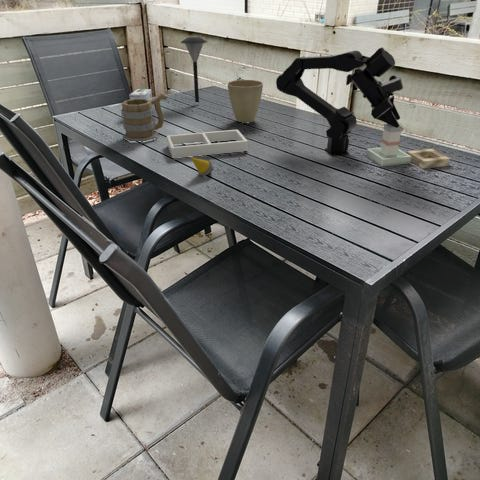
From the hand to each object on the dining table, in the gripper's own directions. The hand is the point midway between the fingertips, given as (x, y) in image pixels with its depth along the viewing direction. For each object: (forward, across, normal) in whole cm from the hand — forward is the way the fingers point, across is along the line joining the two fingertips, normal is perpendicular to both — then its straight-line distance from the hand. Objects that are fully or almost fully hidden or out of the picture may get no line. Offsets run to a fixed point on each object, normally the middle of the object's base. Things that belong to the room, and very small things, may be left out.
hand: (398, 122), depth 143 cm
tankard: (-56, -3, +74) cm, 93 cm away
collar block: (+17, +2, +1) cm, 17 cm away
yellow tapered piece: (-31, -33, +49) cm, 66 cm away
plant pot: (-35, +28, +53) cm, 70 cm away
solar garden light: (-57, +47, +74) cm, 105 cm away
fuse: (+7, 0, +10) cm, 12 cm away
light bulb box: (-68, +22, +86) cm, 112 cm away
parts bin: (-37, -9, +54) cm, 66 cm away
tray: (+8, 0, +10) cm, 13 cm away
